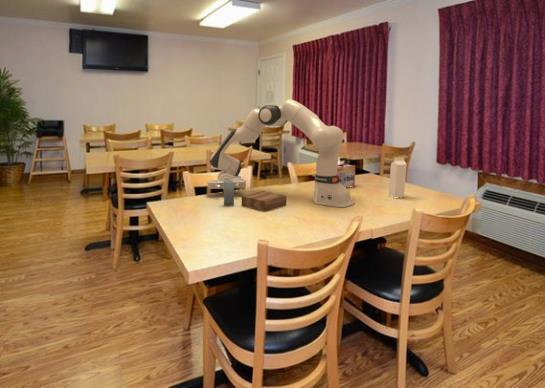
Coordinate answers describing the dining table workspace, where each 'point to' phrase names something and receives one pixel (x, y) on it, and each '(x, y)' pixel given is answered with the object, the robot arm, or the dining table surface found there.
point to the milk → (397, 177)
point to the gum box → (346, 174)
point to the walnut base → (264, 200)
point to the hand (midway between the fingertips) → (227, 187)
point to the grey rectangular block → (228, 193)
